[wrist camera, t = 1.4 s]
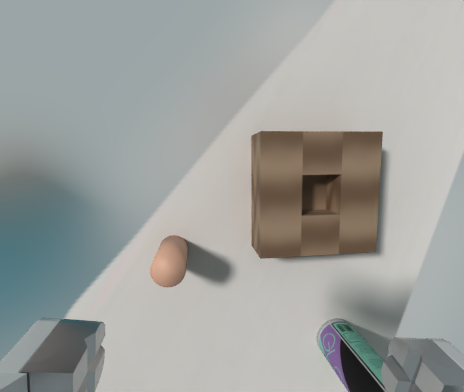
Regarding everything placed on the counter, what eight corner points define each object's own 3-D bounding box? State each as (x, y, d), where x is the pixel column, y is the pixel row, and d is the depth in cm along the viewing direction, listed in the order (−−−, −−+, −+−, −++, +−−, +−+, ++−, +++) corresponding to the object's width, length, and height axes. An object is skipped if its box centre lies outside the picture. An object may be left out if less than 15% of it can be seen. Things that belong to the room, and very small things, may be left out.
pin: (188, 261, 35) (186, 286, 28) (160, 263, 34) (151, 288, 28) (187, 234, 34) (185, 253, 28) (159, 236, 34) (149, 254, 27)
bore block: (352, 240, 37) (375, 252, 32) (251, 245, 36) (260, 258, 31) (357, 136, 36) (382, 131, 31) (251, 135, 34) (260, 131, 29)
